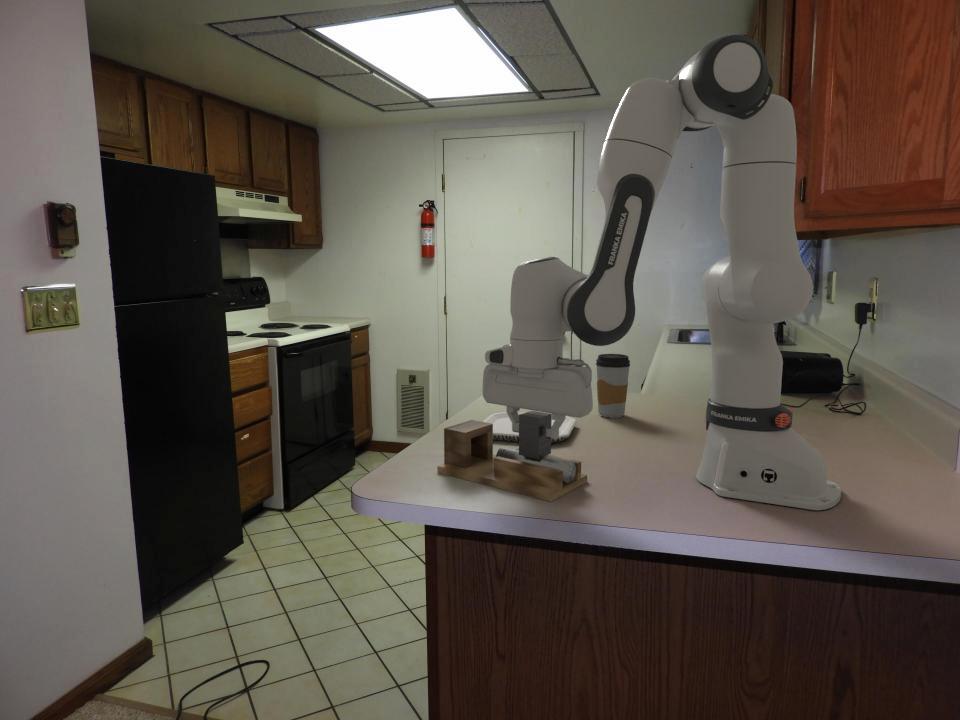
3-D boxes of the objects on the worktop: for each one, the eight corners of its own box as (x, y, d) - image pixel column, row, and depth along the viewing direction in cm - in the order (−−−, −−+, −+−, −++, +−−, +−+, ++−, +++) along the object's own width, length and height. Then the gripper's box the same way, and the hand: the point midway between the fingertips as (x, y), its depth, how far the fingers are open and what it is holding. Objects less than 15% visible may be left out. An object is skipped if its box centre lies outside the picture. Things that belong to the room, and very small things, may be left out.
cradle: (587, 481, 112) (588, 438, 111) (551, 501, 103) (551, 454, 102) (477, 456, 127) (477, 418, 126) (437, 472, 117) (437, 430, 116)
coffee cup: (635, 416, 160) (637, 356, 158) (611, 420, 156) (613, 359, 154) (611, 410, 167) (612, 352, 165) (587, 414, 163) (588, 355, 160)
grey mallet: (576, 479, 109) (577, 418, 108) (564, 485, 106) (565, 422, 104) (508, 463, 118) (508, 406, 116) (495, 469, 114) (495, 410, 113)
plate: (470, 441, 139) (470, 431, 139) (493, 419, 159) (493, 410, 158) (566, 448, 133) (566, 438, 133) (578, 425, 153) (578, 416, 153)
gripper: (601, 358, 105) (598, 441, 107) (498, 348, 117) (498, 422, 119) (582, 363, 100) (580, 449, 102) (477, 352, 112) (477, 429, 114)
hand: (535, 435), depth 111 cm, fingers open, 5 cm apart
